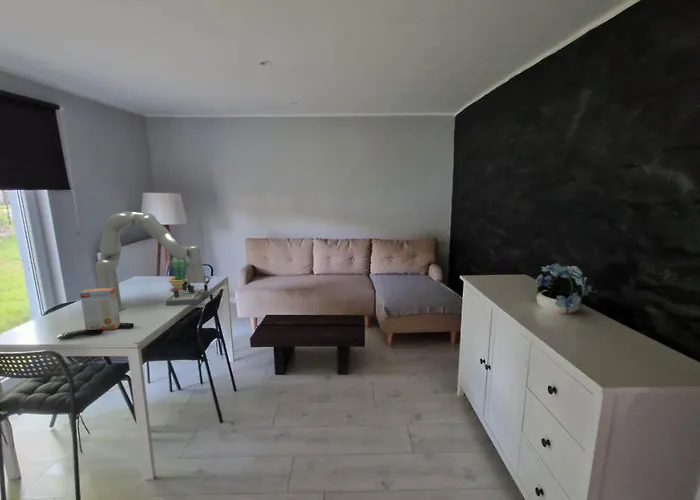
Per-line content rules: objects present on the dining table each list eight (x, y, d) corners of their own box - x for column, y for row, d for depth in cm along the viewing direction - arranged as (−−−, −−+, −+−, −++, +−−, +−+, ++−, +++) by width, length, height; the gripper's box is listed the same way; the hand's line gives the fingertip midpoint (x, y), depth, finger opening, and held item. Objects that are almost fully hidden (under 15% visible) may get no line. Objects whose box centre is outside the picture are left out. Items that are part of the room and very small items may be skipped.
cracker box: (121, 325, 185) (116, 286, 181) (115, 330, 179) (109, 290, 175) (92, 327, 184) (86, 288, 180) (85, 331, 178) (79, 291, 174)
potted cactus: (184, 292, 242) (181, 256, 238) (164, 291, 245) (160, 256, 240) (197, 286, 257) (194, 252, 253) (178, 285, 260) (174, 252, 255)
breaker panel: (198, 303, 217) (197, 290, 216) (166, 306, 215) (164, 292, 213) (208, 293, 240) (206, 281, 238) (178, 294, 237) (177, 282, 236)
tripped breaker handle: (193, 292, 226) (192, 286, 225) (190, 292, 226) (189, 286, 225) (194, 291, 228) (193, 285, 228) (191, 291, 228) (190, 285, 227)
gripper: (179, 266, 219) (181, 293, 222) (208, 265, 222) (210, 291, 225) (182, 264, 227) (185, 290, 230) (211, 263, 229) (213, 288, 232)
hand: (197, 290), depth 227 cm, fingers open, 9 cm apart
